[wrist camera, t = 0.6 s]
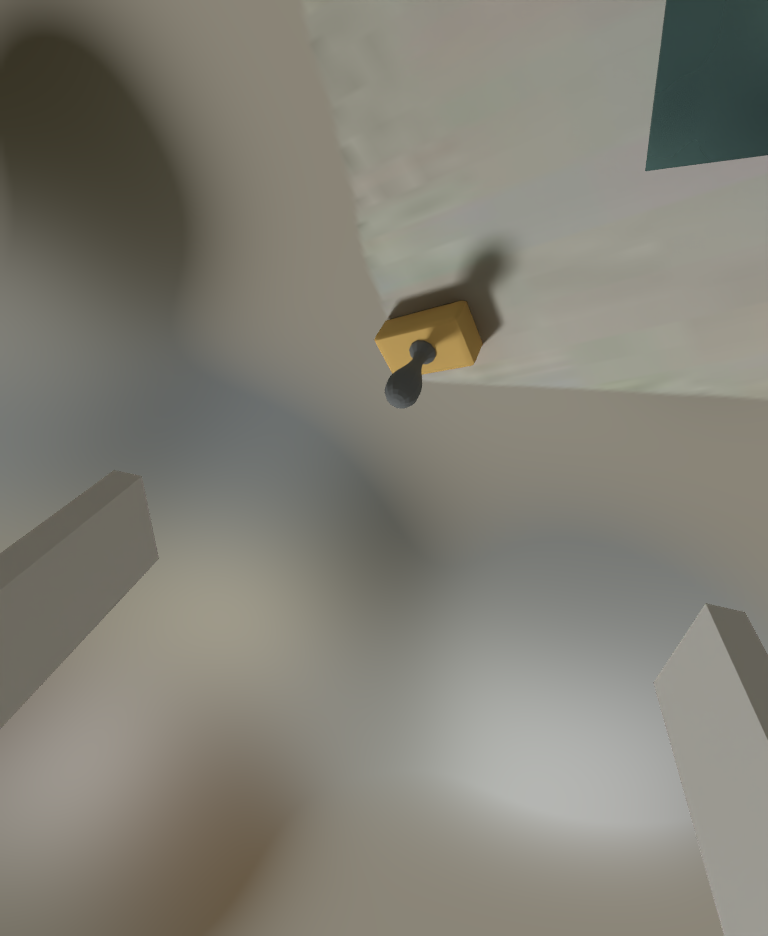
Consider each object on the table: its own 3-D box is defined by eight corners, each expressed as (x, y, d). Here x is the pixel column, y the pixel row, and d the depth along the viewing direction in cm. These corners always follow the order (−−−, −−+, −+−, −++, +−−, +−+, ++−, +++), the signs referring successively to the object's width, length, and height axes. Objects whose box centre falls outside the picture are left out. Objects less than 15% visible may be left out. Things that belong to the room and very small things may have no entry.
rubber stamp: (465, 298, 48) (429, 370, 41) (483, 345, 52) (453, 420, 45) (384, 319, 54) (340, 387, 47) (405, 361, 57) (367, 429, 50)
